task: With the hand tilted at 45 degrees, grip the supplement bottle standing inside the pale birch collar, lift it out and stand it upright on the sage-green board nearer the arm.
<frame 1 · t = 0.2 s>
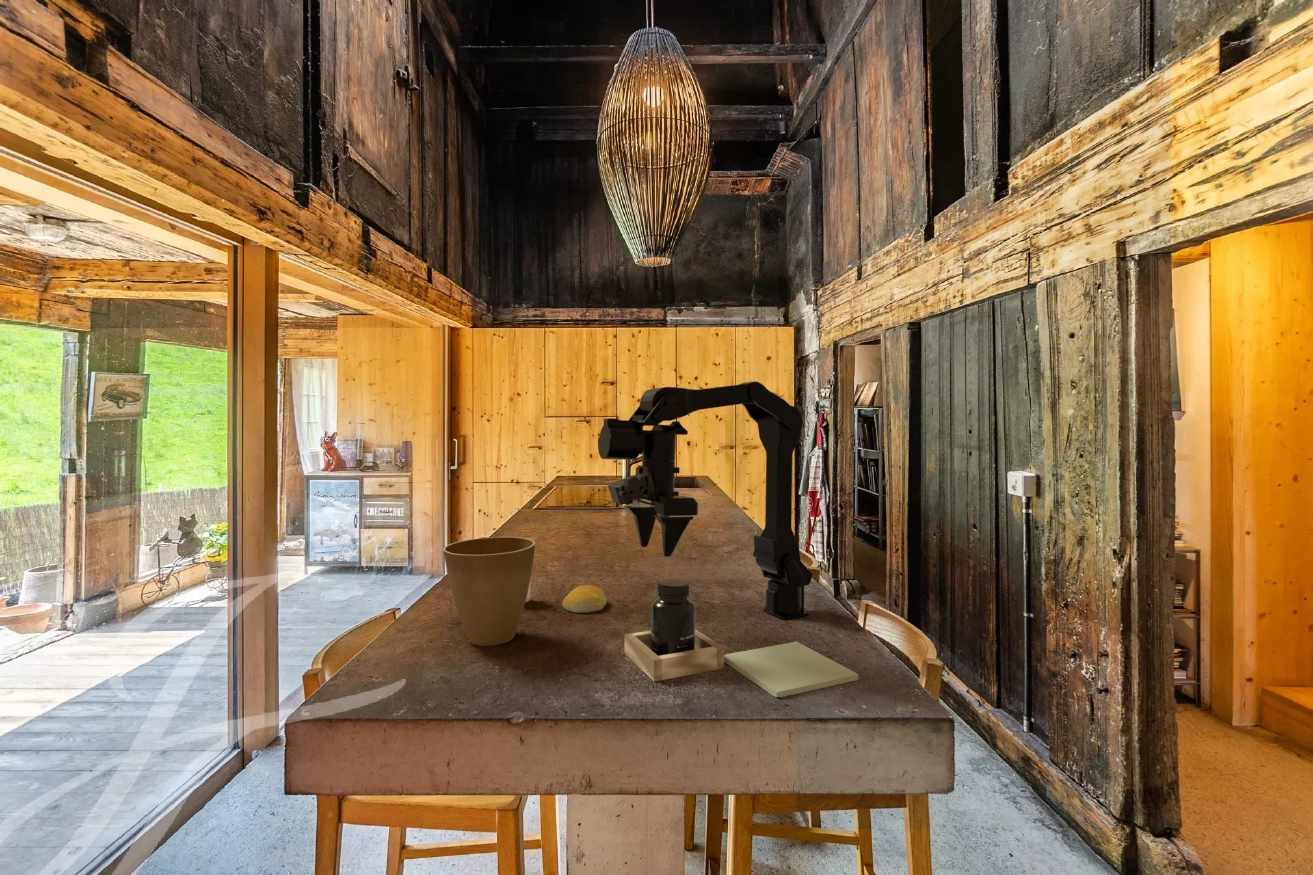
hand: (655, 551, 102), 14 cm above the counter, tool pointing down, fingers open, 9 cm apart
supplement bottle: (672, 661, 91), resting in birch collar
plant pot: (490, 639, 101), on the counter
eye dropper bottle: (516, 603, 121), on the counter
sage board: (787, 669, 88), on the counter
bread roll: (584, 608, 119), on the counter
birch collar: (672, 660, 91), on the counter
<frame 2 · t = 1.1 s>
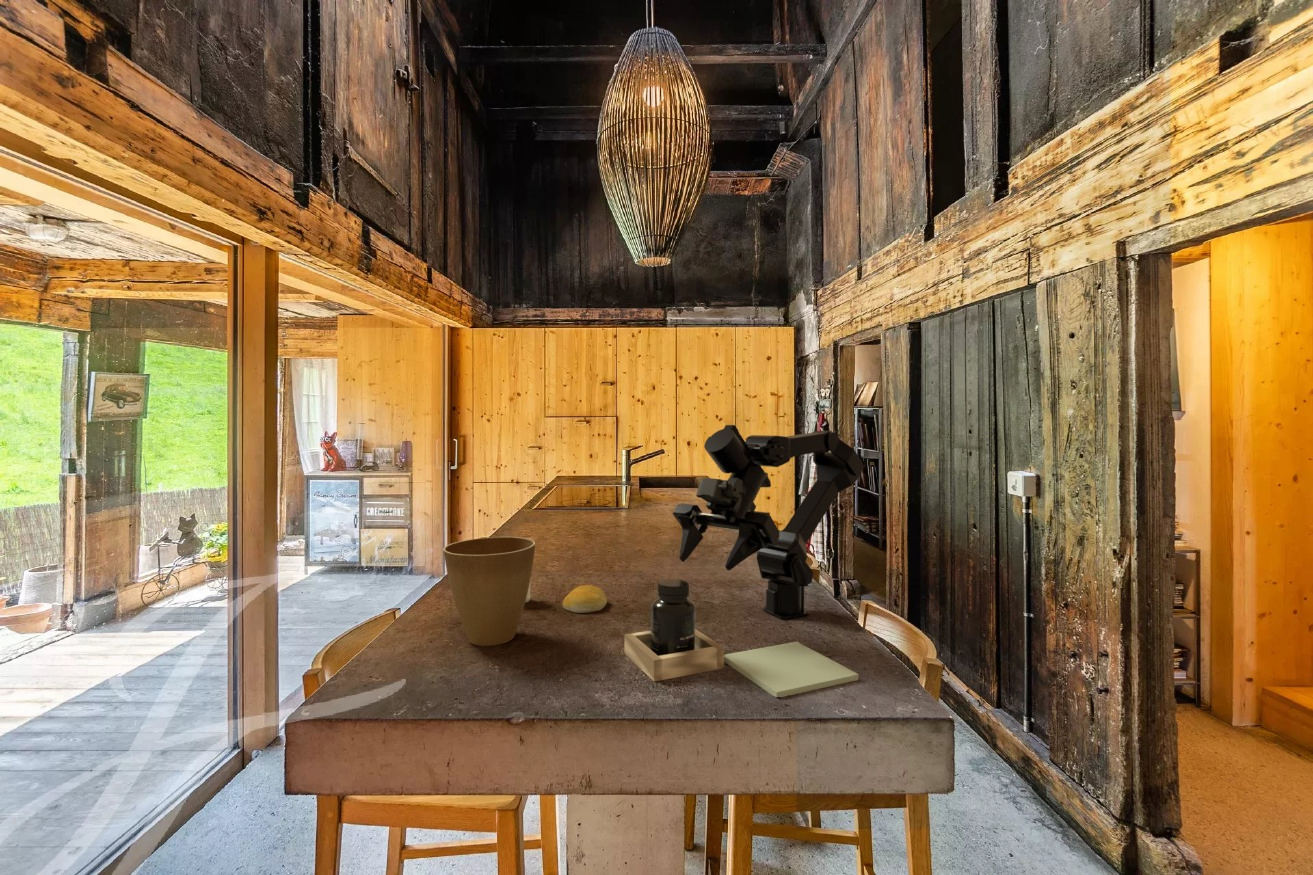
hand: (703, 564, 97), 13 cm above the counter, tool tilted 45°, fingers open, 9 cm apart
nothing on the counter moved.
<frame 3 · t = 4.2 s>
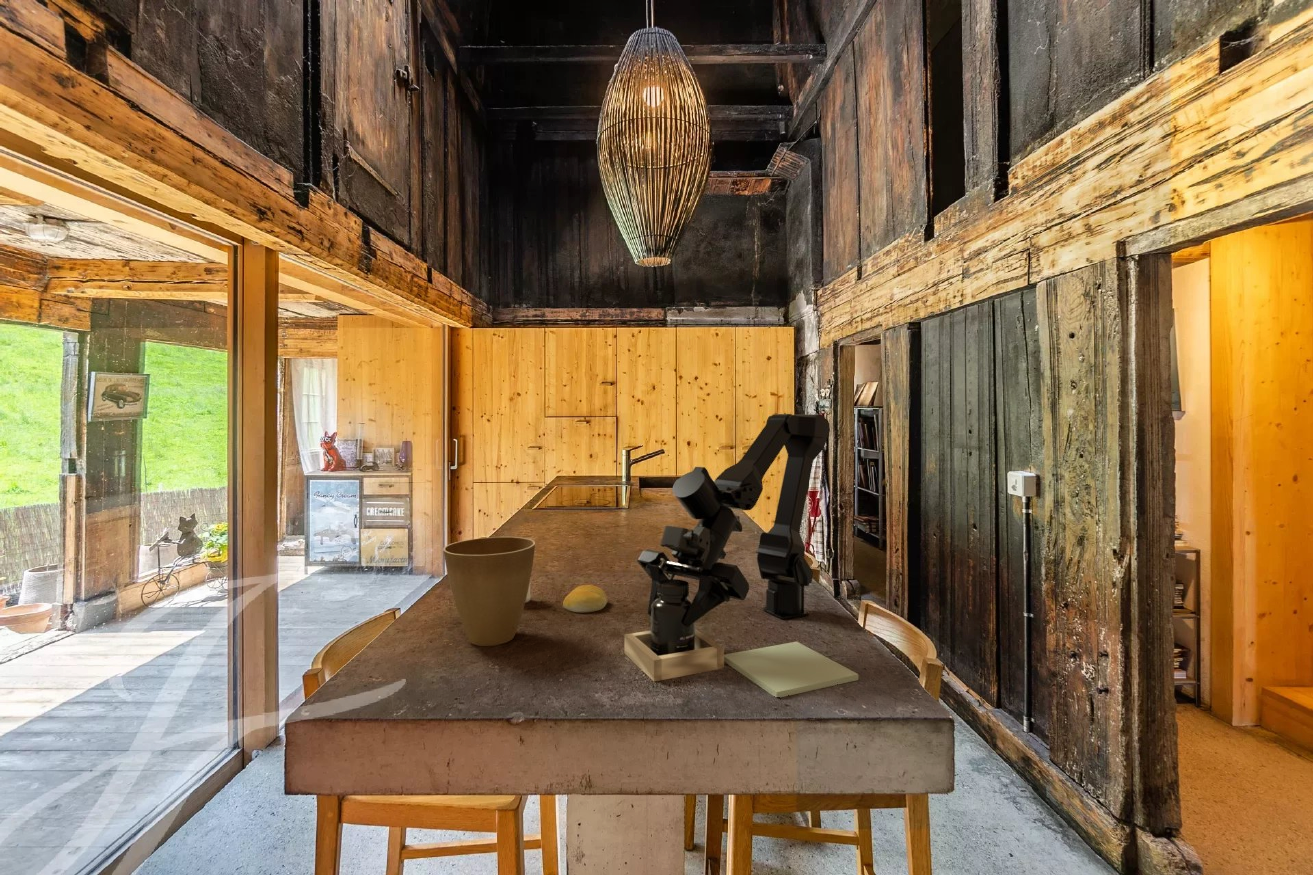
hand: (667, 620, 90), 7 cm above the counter, tool tilted 45°, fingers closed on supplement bottle, 7 cm apart
supplement bottle: (672, 661, 91), resting in birch collar, touching gripper
everything else where it was.
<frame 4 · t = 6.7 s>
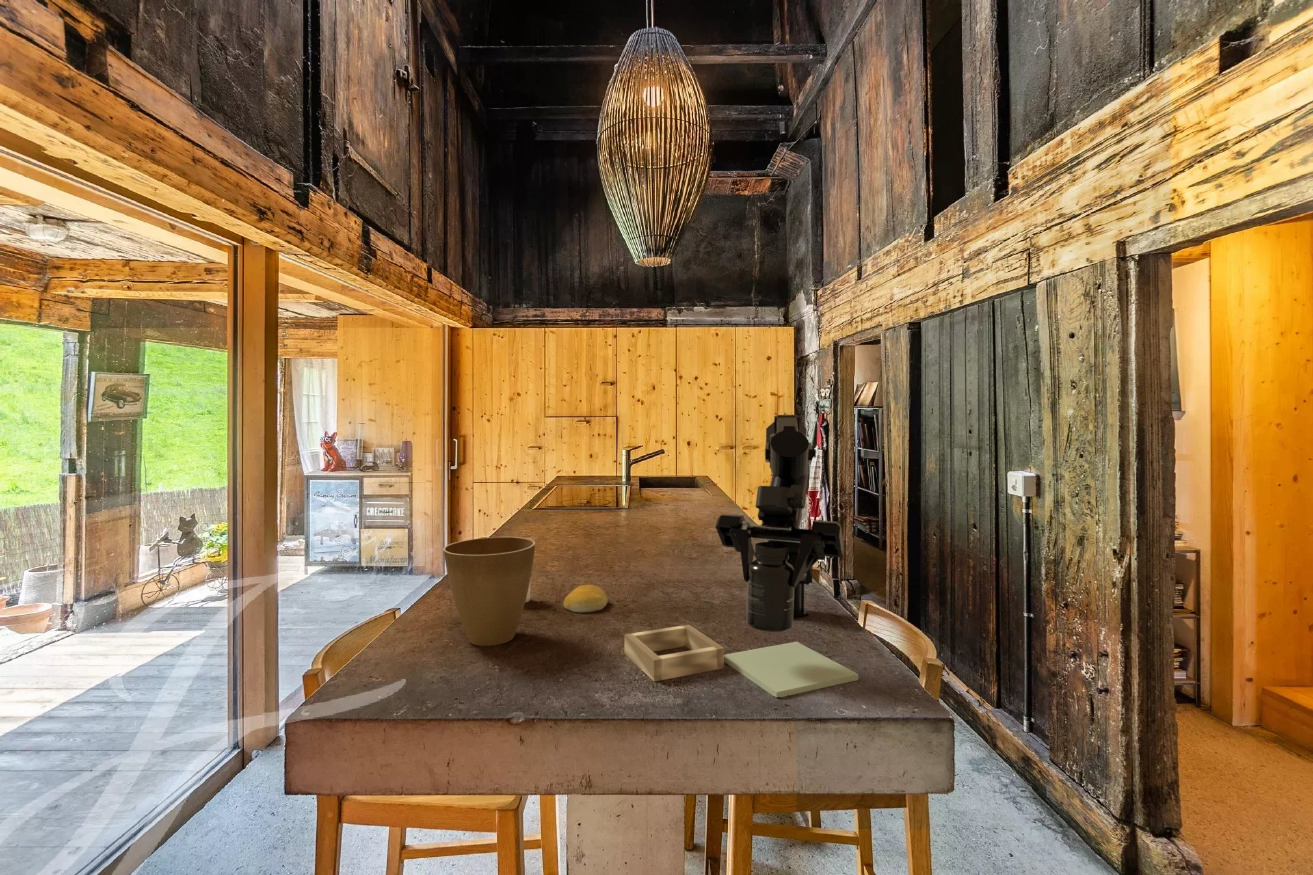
hand: (769, 583, 87), 13 cm above the counter, tool tilted 45°, fingers closed on supplement bottle, 7 cm apart
supplement bottle: (769, 626, 88), point 6 cm above the counter, touching gripper
everything else where it was.
when the fingers open (8 cm above the counter, at t = 9.1 s): supplement bottle stays where it is, resting on sage board.
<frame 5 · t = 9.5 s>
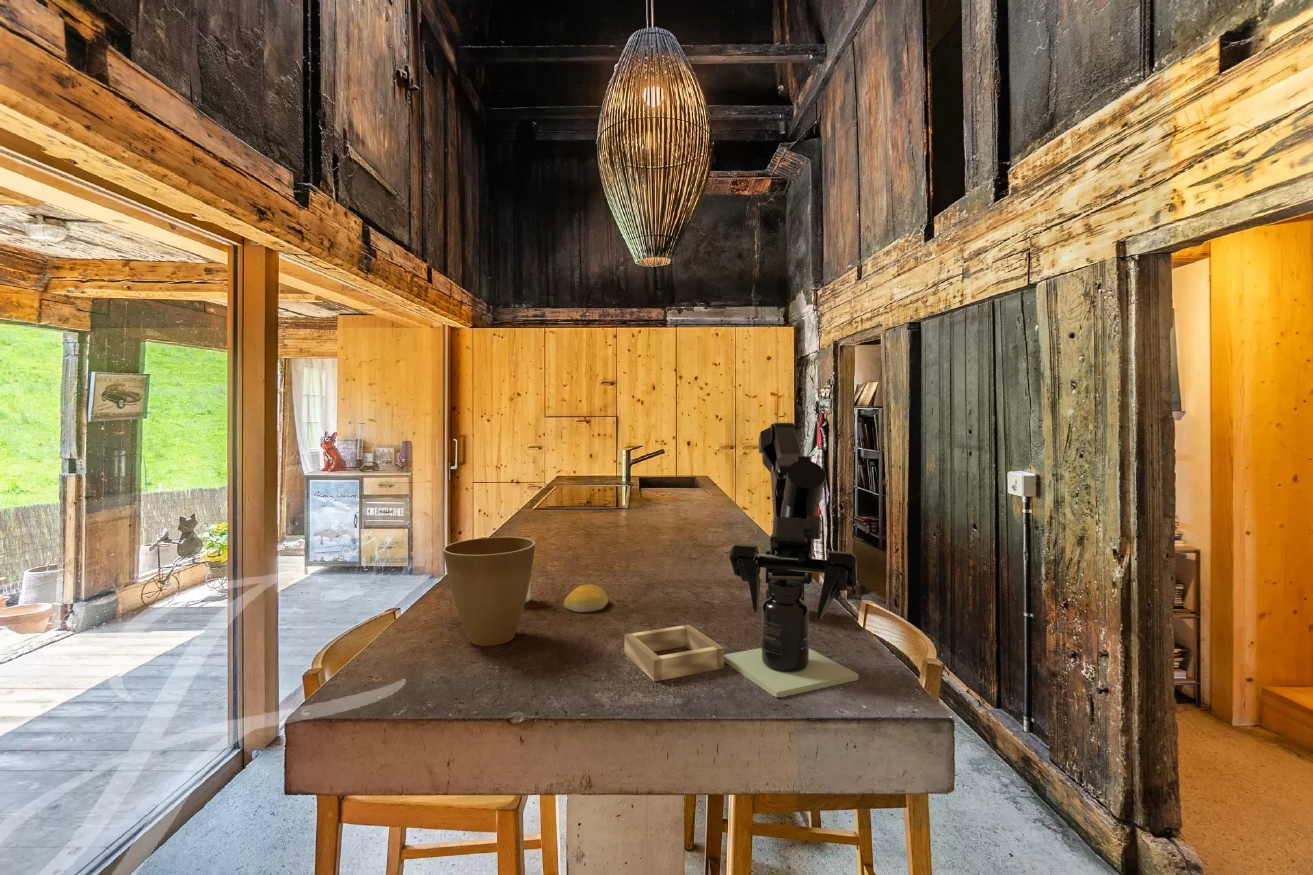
hand: (786, 614, 87), 9 cm above the counter, tool tilted 45°, fingers open, 9 cm apart
supplement bottle: (785, 664, 88), point 1 cm above the counter, touching sage board
everything else where it was.
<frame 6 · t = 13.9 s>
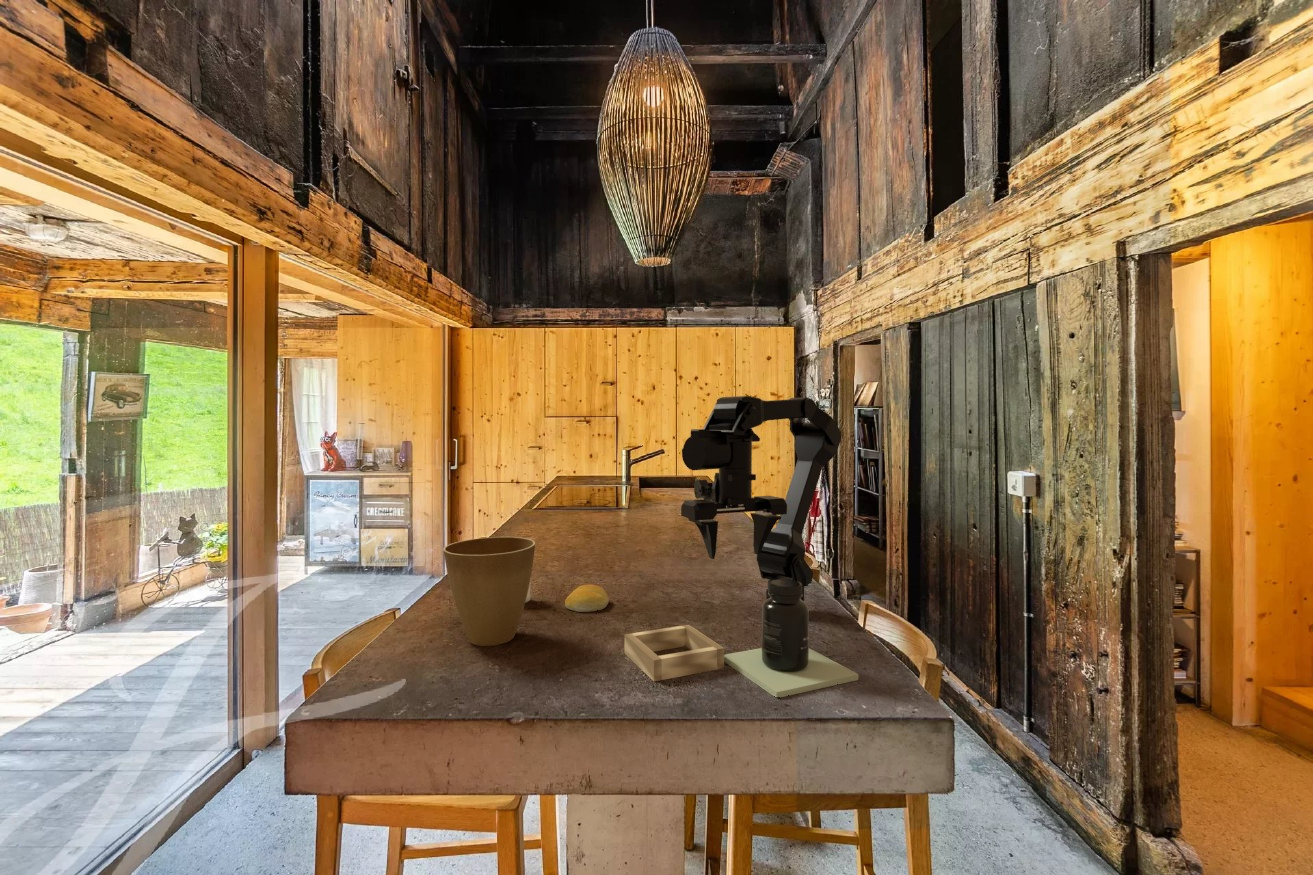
hand: (734, 556, 105), 13 cm above the counter, tool pointing down, fingers open, 9 cm apart
nothing on the counter moved.
at the end: supplement bottle inside the target area on the sage board (0.4 cm from its centre), point 0.6 cm above the sage board's base; supplement bottle tilted 0°; the gripper is holding nothing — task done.
